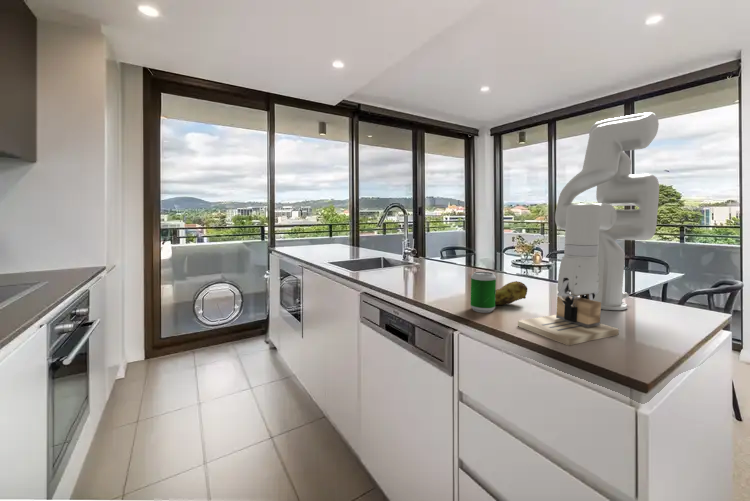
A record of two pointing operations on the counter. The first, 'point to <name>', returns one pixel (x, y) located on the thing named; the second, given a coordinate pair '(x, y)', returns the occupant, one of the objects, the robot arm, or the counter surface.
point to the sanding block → (582, 311)
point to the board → (566, 330)
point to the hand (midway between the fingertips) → (577, 318)
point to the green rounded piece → (510, 293)
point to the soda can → (483, 291)
